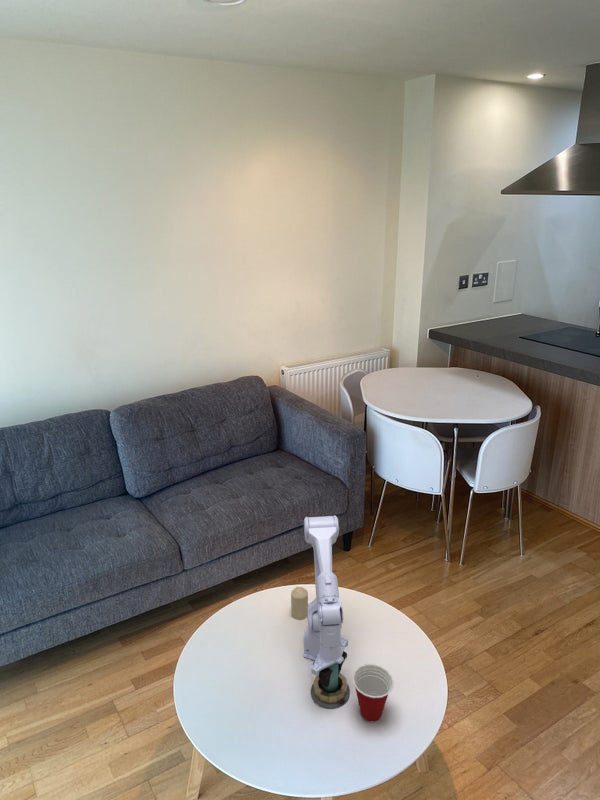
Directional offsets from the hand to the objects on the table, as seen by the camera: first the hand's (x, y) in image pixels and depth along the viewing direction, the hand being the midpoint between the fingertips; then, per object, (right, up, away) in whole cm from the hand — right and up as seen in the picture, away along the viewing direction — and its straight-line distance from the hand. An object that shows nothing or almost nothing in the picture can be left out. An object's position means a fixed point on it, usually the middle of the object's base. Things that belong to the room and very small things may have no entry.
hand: (330, 679), depth 164 cm
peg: (0, -2, +1) cm, 2 cm away
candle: (-8, +6, +32) cm, 34 cm away
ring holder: (0, -4, +2) cm, 5 cm away
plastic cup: (+11, -7, -5) cm, 14 cm away
